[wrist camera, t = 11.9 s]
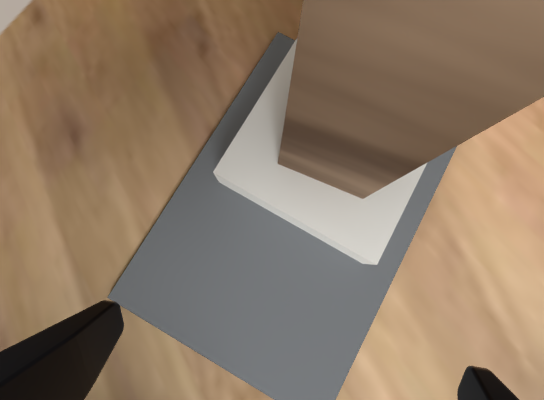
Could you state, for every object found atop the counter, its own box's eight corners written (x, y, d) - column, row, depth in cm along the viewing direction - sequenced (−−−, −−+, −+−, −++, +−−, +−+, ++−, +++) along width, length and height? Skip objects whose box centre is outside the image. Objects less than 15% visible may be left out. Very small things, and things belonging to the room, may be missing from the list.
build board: (320, 424, 17) (331, 456, 15) (110, 296, 18) (83, 303, 15) (460, 131, 21) (491, 113, 18) (278, 36, 22) (280, 3, 19)
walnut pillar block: (362, 199, 17) (679, 19, 4) (277, 163, 17) (321, -114, 4) (392, 119, 18) (731, -238, 5) (311, 87, 18) (431, -337, 5)
